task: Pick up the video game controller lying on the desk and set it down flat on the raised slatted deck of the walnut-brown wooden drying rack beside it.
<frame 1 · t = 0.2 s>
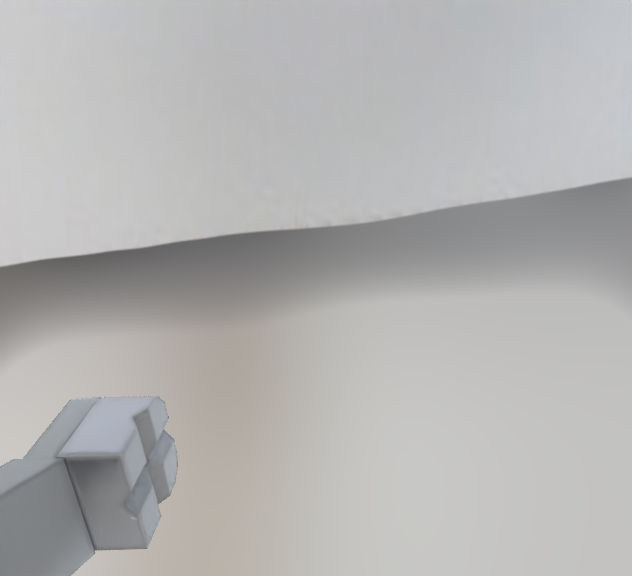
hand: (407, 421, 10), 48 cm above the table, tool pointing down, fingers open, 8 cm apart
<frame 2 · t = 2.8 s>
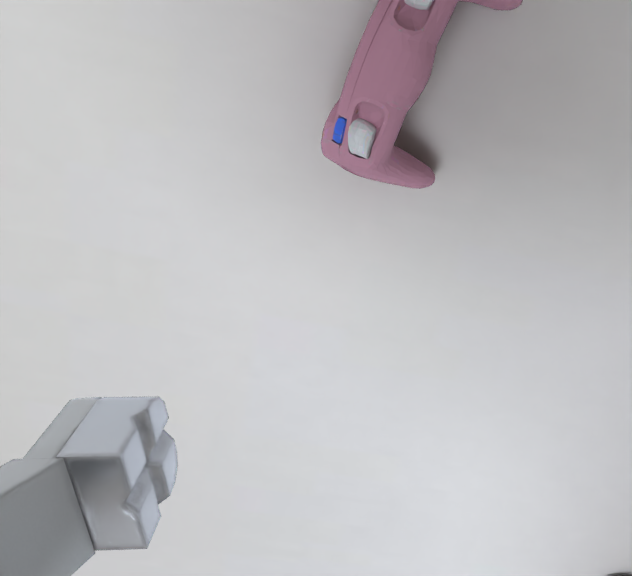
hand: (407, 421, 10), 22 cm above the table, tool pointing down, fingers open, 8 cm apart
video game controller: (414, 69, 28), on the table
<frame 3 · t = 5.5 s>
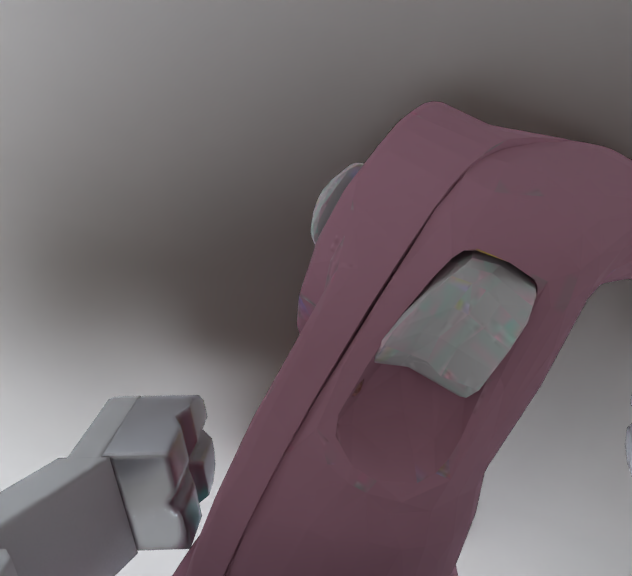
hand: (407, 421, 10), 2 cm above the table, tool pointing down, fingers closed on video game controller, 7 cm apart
video game controller: (411, 349, 12), on the table, touching gripper
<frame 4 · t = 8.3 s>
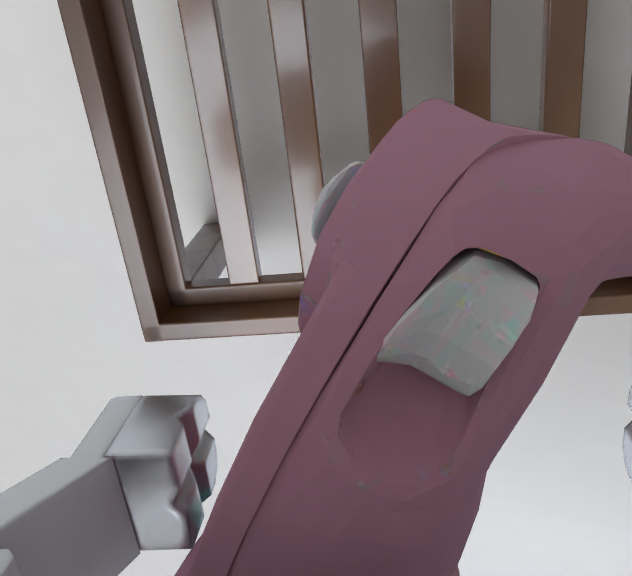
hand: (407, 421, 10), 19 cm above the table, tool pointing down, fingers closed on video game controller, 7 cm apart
video game controller: (411, 347, 12), point 17 cm above the table, touching gripper
rack: (379, 59, 25), on the table
when the fingers open (10 cm above the table, at t = 11.6 s): video game controller stays where it is, resting on rack.
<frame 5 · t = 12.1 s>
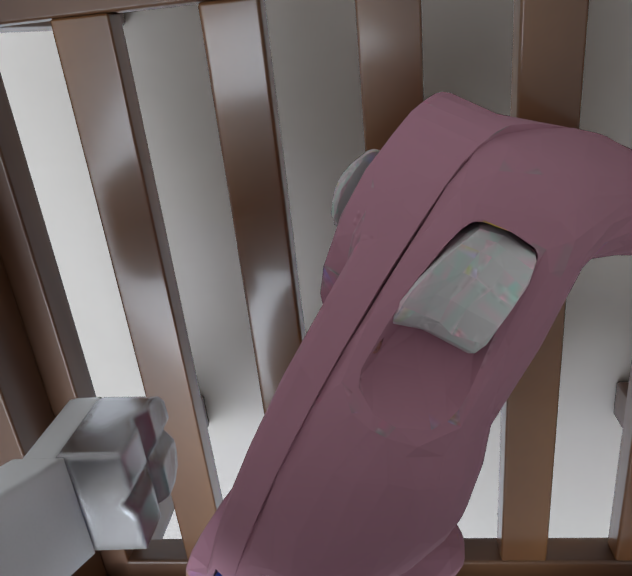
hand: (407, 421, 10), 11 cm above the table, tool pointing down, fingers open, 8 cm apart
video game controller: (420, 329, 13), point 8 cm above the table, touching rack
rack: (392, 218, 20), on the table
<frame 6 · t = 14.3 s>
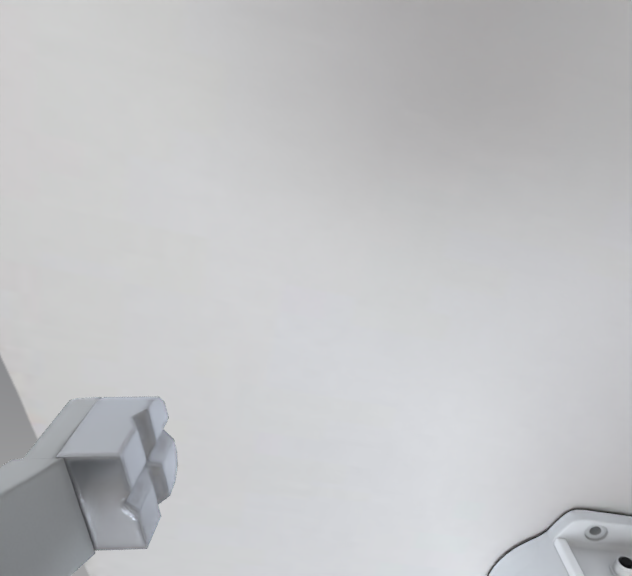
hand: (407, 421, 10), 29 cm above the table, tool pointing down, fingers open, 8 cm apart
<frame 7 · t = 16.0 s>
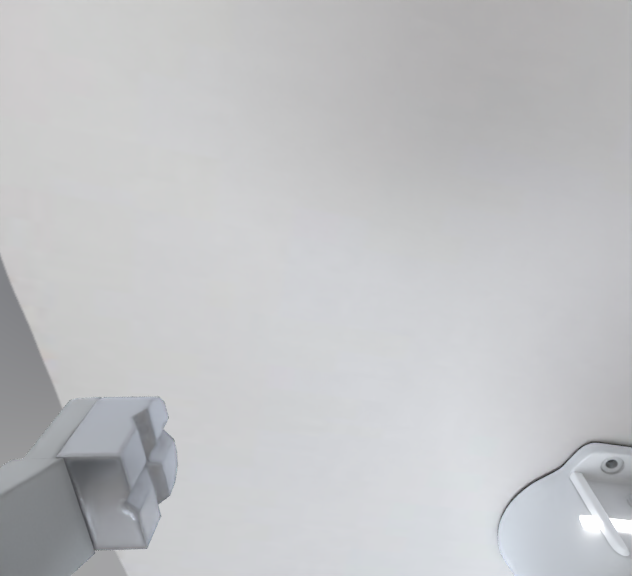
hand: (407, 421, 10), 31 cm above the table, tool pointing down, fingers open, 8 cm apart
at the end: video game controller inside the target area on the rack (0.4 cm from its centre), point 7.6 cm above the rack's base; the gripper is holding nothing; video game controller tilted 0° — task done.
